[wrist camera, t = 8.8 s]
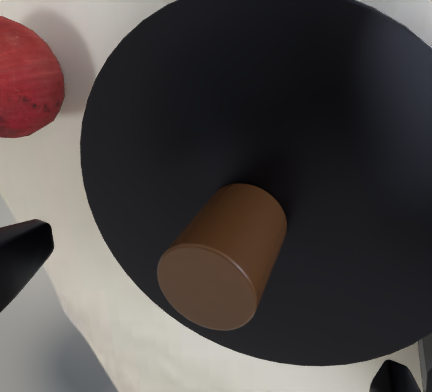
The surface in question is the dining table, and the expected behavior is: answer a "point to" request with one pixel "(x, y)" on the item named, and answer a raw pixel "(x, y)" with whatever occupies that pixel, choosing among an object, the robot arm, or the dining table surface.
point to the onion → (27, 81)
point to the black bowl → (426, 361)
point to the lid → (270, 174)
